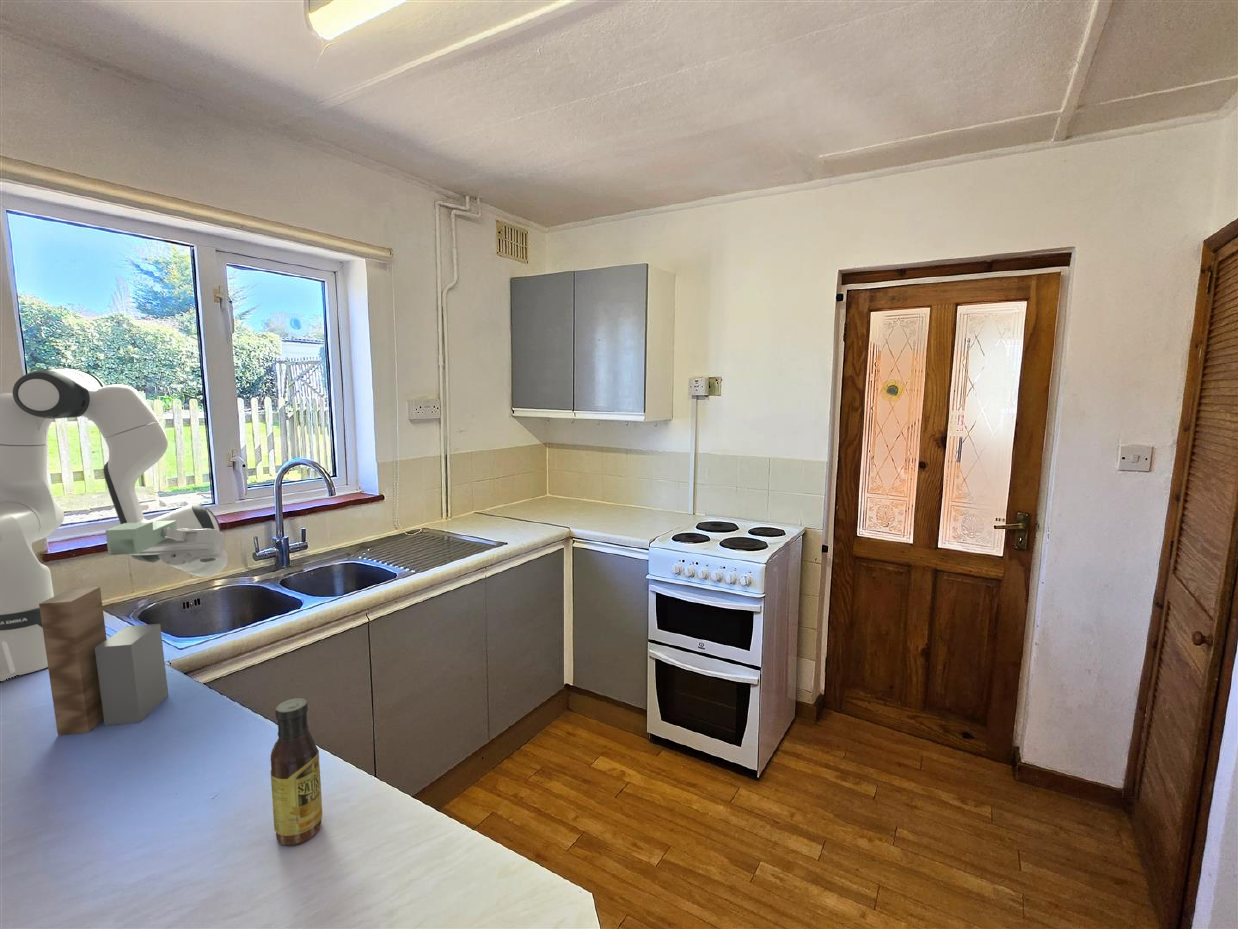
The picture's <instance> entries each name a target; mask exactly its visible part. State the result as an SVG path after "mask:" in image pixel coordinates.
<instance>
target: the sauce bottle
mask: <svg viewBox="0 0 1238 929" xmlns="http://www.w3.org/2000/svg"><path fill="white" fill-rule="evenodd" d="M308 706H309V705H308V701H307V700H306V699H305V698H300V697H295V698H291V699H287V700H285V701H282V702H281V703H279V704H278V705H277V706H276V707H275V718H276V720H277V730H278V731H277V737H278V739H277V741H276V742H275V744H274V745H273V747H272V750H271V753H270V767H271V769H270V784H271V798H272V799H271V800H272V813H273V814H272V815H273V828H274V829H273V830H274V832H275V837H276V838H275V839H276V841H277V842H278V844H280V845H283V846H296V845H299V844H302V843H304V842H306V841H308V840H310V839H311V838H313V837H314V836H315V835H316V834H317V833H318V832H319V830H320V829H321V825H322V819H323V799H322V783H321V782H322V781H321V770H320V769H321V768H320V766H321V765H320V751H319V749H318V747H317V745H316V743H315V740H314V738H313V737H312V734H311V732H310V731H309V725H308V710H309V708H308Z"/></svg>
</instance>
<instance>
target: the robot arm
mask: <svg viewBox="0 0 1238 929" xmlns="http://www.w3.org/2000/svg"><path fill="white" fill-rule="evenodd" d="M12 388H13V389H12V392H4V393H3V392H2V393H0V681H1V682H5V681H7V680H8V679H7V678H10V677H13V676H16V675H19V676H22V675H25V674H31V673H34V672H36V671H40V670H44V669H46V668H48V663H47V656H46V649H45V642H44V635H43V628H42V621H41V614H40V607H39V603H42V602H44V601H46V600H48V599H50V598H52V597H54V596H55V595H54V593H55V592H54V587H53V581H52V572H51V569H50V568H49V566H47V565H45V564H43V563H41V562H40V561H39V559H38V558H37V556H36V554H35V552H34V550H33V547H32V546H33V543H36V542H38V541H41V540H44V539H45V538H47V537H49V536H50V535H51V534H53V533H54V532H55V531H56V530H58V529H59V528H60V526H62V524H63V522H64V519H65V513H64V512H65V511H64V509H63V508H62V506H61V505H60V504H59V502H58V501H55V499H54V498H53V497H54V496H53V495H52V492H51V488H50V485H49V481H48V473H47V471H48V447H49V446H48V445H49V444H48V443H49V430H50V426H51V424H52V422H53V421H54V420H56V419H57V420H58V419H68V418H70V419H71V418H80V417H84V418H86V419H88V420H90V421H92V422H93V424H94V425H95V426H96V427H97V429H98V430H99V432H100V434H101V435H102V437H103V439H104V440H105V442H106V444H107V448H108V453H109V454H108V461H106V463H105V464H104V465H103V476H104V479H105V483H106V486H107V489H108V493H109V495H110V498H111V501H112V504H113V508H114V510H115V513H116V516H117V517H118V520H119V523H120V524H119V525H121V524H123V523H140V522H152V523H153V522H155V521H174V520H176V524H177V530H173V529H171V528H163V529H162V530H161V531H162V532H161V536H162V537H164V538H167V539H165V540H163V541H161V542H158V543H156V544H155V546H153V547H151V548H148V549H146V550H144V551H142V552H140V553H138V554H128V555H129V556H131V557H132V558H133V559H135V560H137V561H141V562H144V563H157V562H158V561H162V563H164V564H166V565H168V566H171V567H174V568H175V569H178V570H182V571H184V572H185V573H187V574H190V575H193V576H197V577H211V576H216V575H217V574H218V573H220V572H221V571H223V570H224V568H225V567H226V566H227V564H228V560H229V558H228V557H229V556H228V554H227V552H226V551H225V549H224V548H225V542H226V540H225V539H226V538H225V537H226V534H225V532H222V528H221V525H220V523H219V522H220V521H219V520H218V518H217V517H216V516H215V514H214V512H212V511H211V510H210V509H209V508H208V507H205V506H203V505H201V504H199V503H191V504H188V505H186V506H182V507H179V508H177V509H175V510H173V511H170V512H168V513H165V514H162V515H159V516H157V517H154V518H152V519H146V518H145V516H144V513H143V510H142V507H141V503H140V502H139V499H138V496H137V493H136V488H135V487H136V484H137V481H138V480H139V479H140V477H141V476H142V475H143V474H144V473H145V472H147V470H148V469H151V467H153V466H154V465H155V464H156V463H158V462H159V461H160V460H161V458H162V457H163V456H164V455H165V453H166V451H167V449H168V444H169V440H168V437H167V434H166V431H165V430H164V428H163V426H162V424H161V422H160V421H159V419H158V417H157V415H156V414H155V412H154V411H153V410H152V408H151V407H150V406H149V404H148V403H147V401H146V400H145V399H144V398H143V396H142V395H141V394H140V393H139V392H138V391H137V390H136V389H135V388H134V387H132V386H129V385H125V384H111V385H105V384H104V383H103V381H102V380H101V379H100V378H99V377H98V376H96V375H94V374H93V373H90V372H88V371H84V370H80V369H70V368H53V369H39V370H34V371H30V372H28V373H26V374H24V375H22V376H21V377H19V378H18V380H17V381H15V383H14V385H13V387H12ZM16 677H17V676H16ZM13 678H14V677H13ZM6 679H7V680H6ZM10 679H11V678H10Z"/></svg>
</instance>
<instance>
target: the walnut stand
mask: <svg viewBox="0 0 1238 929" xmlns="http://www.w3.org/2000/svg"><path fill="white" fill-rule="evenodd" d="M39 607H40V614H41V621H42V628H43V635H44V642H45V649H46V656H47V663H48V667H47V668H48V676H49V677H48V678H49V682H50V683H49V684H50V690H51V695H52V703H53V711H54V717H55V724H56V730H57V731H56V732H57V736H67V735H78V734H88V733H90V732H91V731H92V730H94V729H95V728H96V727H97V726H98V725H99V724H100V723H102V722H103V721H104V715H103V707H102V700H101V692H100V685H99V677H98V669H97V662H96V654H95V647H96V646H98V645H99V644H101V643H102V642H104V641H105V640H107V639H108V637H107V630H106V623H105V615H104V608H103V601H102V593H101V586H93V587H91V586H90V587H75V588H69V589H66V590H65V591H63V592H61V593H59V594H56V595H54V597H52V598H50V599H48V600H46V601H44V602H42V603H39Z"/></svg>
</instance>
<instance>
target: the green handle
mask: <svg viewBox="0 0 1238 929" xmlns="http://www.w3.org/2000/svg"><path fill="white" fill-rule="evenodd" d="M163 528H171V529H173V530H177V524H176V520H174V521H155V522H153V523H152V522H140V523H123V524H119V525H115V526H113V527H111V528H108V529H105V537H106V546H107V547H106V548H107V552H108V556H118V555H119V556H120V555H129V554H138V553H140V552H142V551H144V550H146V549H148V548H151V547H153V546H155V544H156V543H158V542H161V541H163V540H165V539H167V538H164V537H162V536H161V532H162V531H161V530H162V529H163Z"/></svg>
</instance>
